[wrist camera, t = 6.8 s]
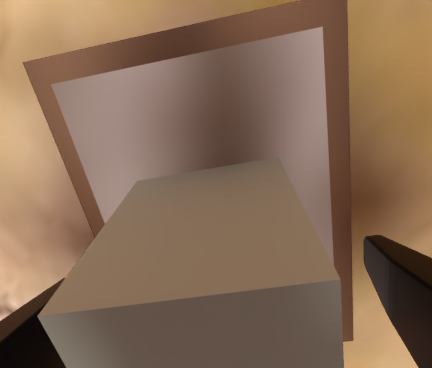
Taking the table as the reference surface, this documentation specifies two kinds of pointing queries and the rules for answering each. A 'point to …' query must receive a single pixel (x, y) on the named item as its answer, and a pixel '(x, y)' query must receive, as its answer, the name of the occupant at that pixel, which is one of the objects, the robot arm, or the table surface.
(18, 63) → the table surface
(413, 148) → the table surface
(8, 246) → the table surface
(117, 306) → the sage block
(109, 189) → the plinth
